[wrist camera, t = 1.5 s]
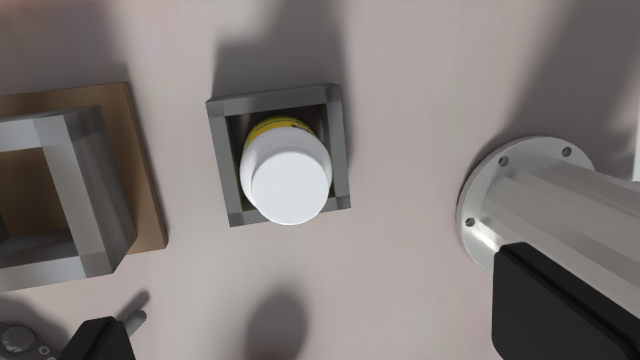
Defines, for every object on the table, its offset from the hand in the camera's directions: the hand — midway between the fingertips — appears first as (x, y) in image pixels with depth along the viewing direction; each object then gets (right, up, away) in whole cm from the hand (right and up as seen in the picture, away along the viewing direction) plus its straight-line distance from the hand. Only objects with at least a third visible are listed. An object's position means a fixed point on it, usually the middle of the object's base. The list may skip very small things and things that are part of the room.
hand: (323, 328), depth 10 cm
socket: (-19, +4, +17) cm, 26 cm away
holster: (-3, +6, +19) cm, 20 cm away
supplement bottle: (-3, +6, +19) cm, 20 cm away
